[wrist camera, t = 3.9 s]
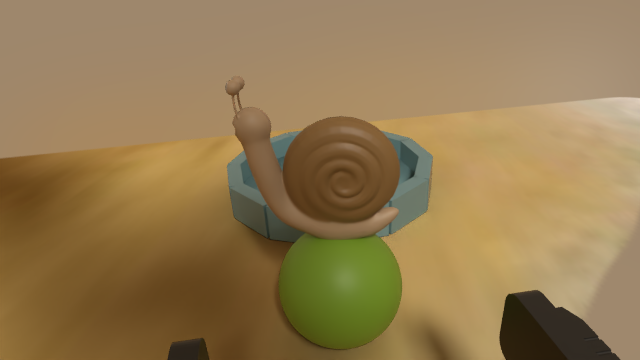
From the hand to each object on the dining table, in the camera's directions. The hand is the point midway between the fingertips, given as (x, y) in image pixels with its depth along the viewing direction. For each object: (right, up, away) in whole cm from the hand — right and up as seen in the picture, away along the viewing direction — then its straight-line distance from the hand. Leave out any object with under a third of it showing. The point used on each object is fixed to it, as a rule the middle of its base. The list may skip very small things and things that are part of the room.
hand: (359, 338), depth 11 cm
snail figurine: (0, -3, +9) cm, 10 cm away
